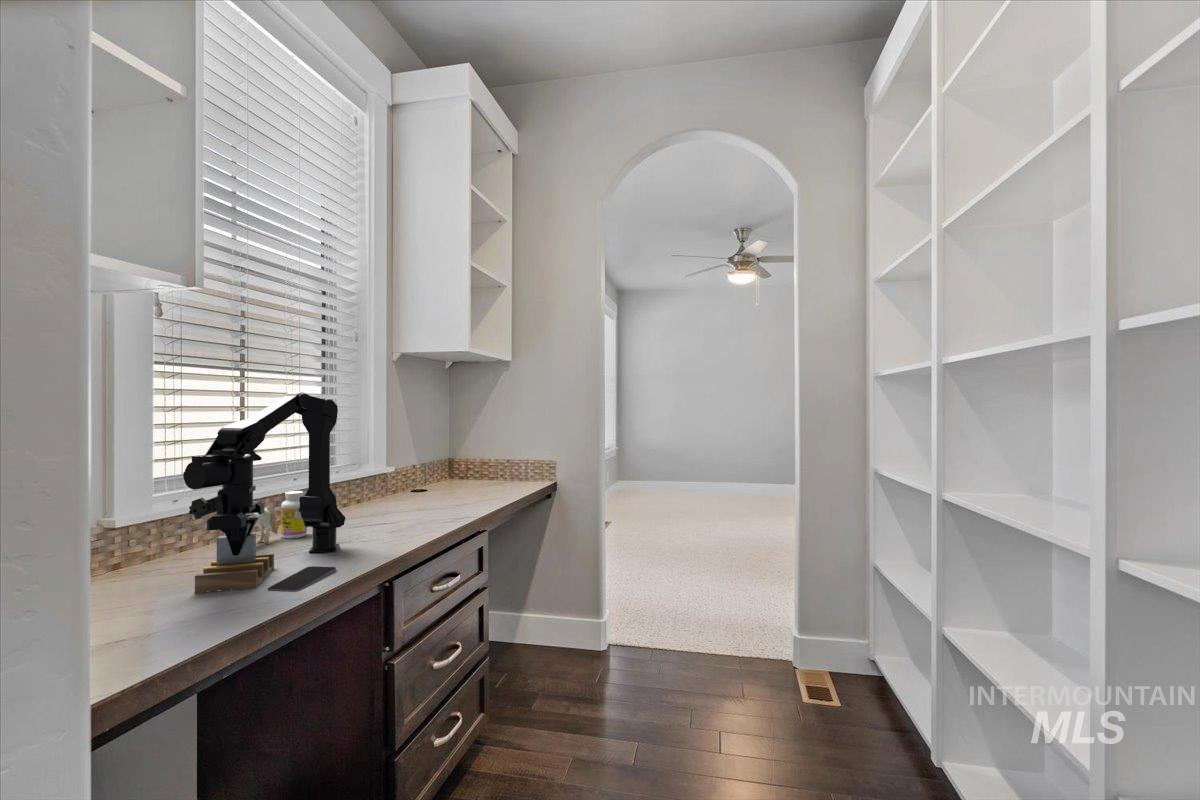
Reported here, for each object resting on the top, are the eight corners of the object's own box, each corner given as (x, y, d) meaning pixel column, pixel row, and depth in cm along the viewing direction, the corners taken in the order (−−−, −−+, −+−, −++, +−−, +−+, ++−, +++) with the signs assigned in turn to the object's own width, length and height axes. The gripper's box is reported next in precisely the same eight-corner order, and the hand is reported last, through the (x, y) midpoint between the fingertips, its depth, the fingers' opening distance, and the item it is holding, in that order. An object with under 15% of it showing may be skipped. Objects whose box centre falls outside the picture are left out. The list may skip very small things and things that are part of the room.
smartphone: (264, 589, 118) (308, 566, 133) (264, 594, 118) (308, 570, 133) (297, 590, 117) (338, 567, 132) (298, 595, 117) (338, 571, 132)
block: (219, 572, 125) (219, 535, 125) (255, 569, 127) (255, 533, 127) (216, 575, 123) (216, 538, 123) (253, 572, 125) (253, 535, 125)
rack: (220, 572, 130) (220, 555, 130) (273, 568, 134) (274, 551, 134) (194, 593, 116) (194, 574, 116) (255, 588, 119) (255, 569, 119)
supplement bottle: (276, 536, 165) (276, 492, 165) (299, 532, 170) (299, 489, 170) (288, 540, 161) (288, 494, 161) (311, 535, 166) (311, 491, 166)
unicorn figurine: (214, 558, 142) (214, 504, 142) (253, 539, 161) (253, 492, 162) (245, 557, 143) (245, 504, 143) (280, 539, 162) (280, 492, 162)
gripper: (210, 478, 132) (210, 546, 131) (177, 491, 114) (176, 569, 114) (265, 477, 135) (264, 542, 135) (240, 488, 117) (240, 564, 117)
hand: (237, 553), depth 125 cm, fingers closed on block, 2 cm apart
